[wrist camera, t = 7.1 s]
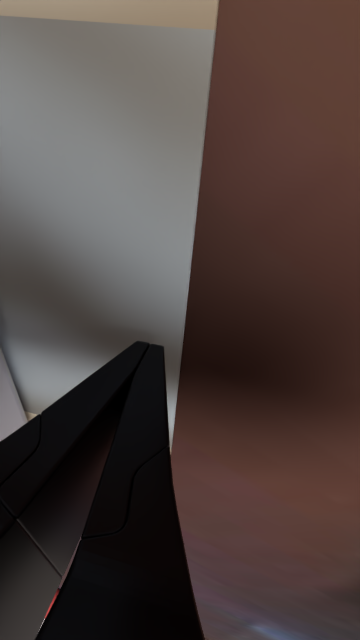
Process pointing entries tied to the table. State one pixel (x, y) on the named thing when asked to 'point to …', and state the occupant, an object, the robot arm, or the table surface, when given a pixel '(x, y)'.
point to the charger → (9, 403)
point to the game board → (98, 183)
